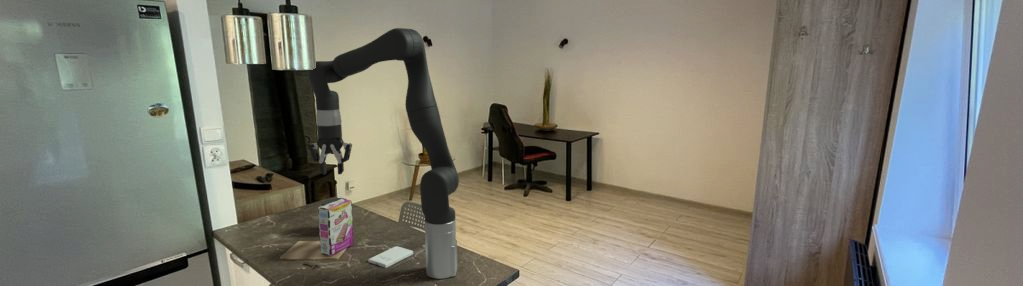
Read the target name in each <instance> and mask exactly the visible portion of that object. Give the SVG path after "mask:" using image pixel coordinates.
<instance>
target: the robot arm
mask: <svg viewBox="0 0 1023 286" xmlns="http://www.w3.org/2000/svg"><path fill="white" fill-rule="evenodd" d="M386 61H387V62H388V61H400V62H401V61H403V64H404V66H405V70H406V75H407V90H406V93H405V94H406V95H405V103H404V104H405V110H406V111H405V112H406V115H407V119H408V123H409V126H410V129H411V131H412V133H413V134H414V136H415V137H416V139H417V140H418V141H419V143H420V144H421V145H422V147H423V148H424V150H425V152H426V153H427V156H428V159H429V163H430V169H429V170H428V171H426V172H425V173H423V175H422V176H421V179H420V181H419V182H420V183H419V184H420V185H419V191H420V192H419V193H420V203H421V204H420V205H421V211H422V214H423V215H424V239H425V269H426V272H425V273H426V275H427V276H428V277H429V278H432V279H436V280H437V279H448V278H451V277H456V275H457V271H458V240H457V237H456V234H457V232H456V230H457V229H456V209H454V208H453V207H451V206H450V202H449V201H450V199H449V196H450V195H452V194H454V193H455V192H456V191H457V189H458V188H459V185H460V184H459V183H460V180H459V173H458V171H457V167H456V165H455V163H454V160H453V157H452V155H451V153H450V149H449V147H448V143H447V138H446V136H445V131H444V128H443V127H444V126H443V124H442V120H441V115H440V111H439V107H438V104H437V103H438V102H437V100H436V97H435V94H434V89H433V84H432V80H431V76H430V73H429V72H430V71H429V67H428V66H429V65H428V60H427V54H426V47H425V42H424V40H423V37H422V35H421V34H420V33H419V31H417V30H416V29H413V28H404V27H403V28H402V27H399V28H398V27H395V28H392V29H390V30H388V31H387V32H384V33H383V34H381V35H380V36H378V37H377V38H376V39H373V40H372V41H370V42H368V43H367V44H364V45H362V46H359V47H357V48H355V49H352V50H349V51H346V52H344V53H341V54H339V55H337V56H336V57H334V59H333V60H324V61H323V60H321V61H319V60H317V61H315V62H316V68H315V69H313V70H309V69H308V71H307V74H308V76H307V77H308V80H309V82H310V86H311V88H312V90H313V94H314V97H315V108H316V111H315V112H316V114H315V115H316V116H315V118H316V119H315V120H316V134H317V135H316V136H317V141H316V142H312V143H310V144H309V145H308V148H309V152H310V154H311V158H312V159H313V160H312V161H313V162H316V163H318V164H319V171H320V173H321V174H322V175H326V174H327V173H328V172H327V162H326V160H327V157H328V155H329V154H331V155H334V157H335V158H336V159H335V160H336V161H337V174H338V175H342V174H343V172H344V171H345V166H344V163H346V162H347V161H349V160H350V158H351V157H350V156H351V152H352V148H353V144H352V143H351V142H349V143H348V142H345V141H344V140H343V130H342V128H343V127H342V116H341V115H342V114H341V109H340V96H339V93H338V92H337V91H335V90H331V89H330V86H329V84H333V83H334V84H335V83H338V82H341V81H343V80H345V79H346V78H348V77H350V76H353V75H356V74H359V73H361V72H364V71H366V70H367V69H369V68H371V66H373V65H375V64H377V63H382V62H386ZM318 148H319V149H320V154H319V152H318ZM341 148H343V149H344V154H343V153H342V150H341Z"/></svg>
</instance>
